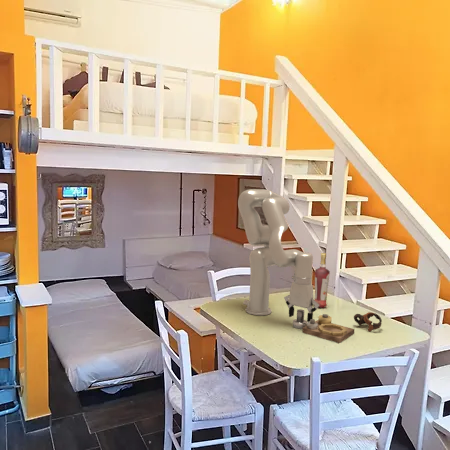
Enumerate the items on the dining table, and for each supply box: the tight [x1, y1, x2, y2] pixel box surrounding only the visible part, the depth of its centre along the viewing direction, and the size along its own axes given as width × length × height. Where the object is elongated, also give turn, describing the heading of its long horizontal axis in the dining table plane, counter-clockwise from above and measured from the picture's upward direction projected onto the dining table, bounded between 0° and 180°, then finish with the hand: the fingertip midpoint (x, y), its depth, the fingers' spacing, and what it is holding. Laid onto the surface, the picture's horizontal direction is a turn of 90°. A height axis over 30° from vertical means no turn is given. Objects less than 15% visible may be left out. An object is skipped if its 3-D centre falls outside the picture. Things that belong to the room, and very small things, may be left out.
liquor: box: [314, 252, 331, 309], centre depth 224 cm, size 7×7×28 cm
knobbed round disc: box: [292, 308, 307, 330], centre depth 194 cm, size 6×6×7 cm
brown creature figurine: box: [353, 311, 383, 332], centre depth 196 cm, size 12×10×8 cm
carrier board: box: [301, 313, 355, 344], centre depth 188 cm, size 17×15×6 cm
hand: (300, 318), depth 194 cm, fingers open, 8 cm apart
